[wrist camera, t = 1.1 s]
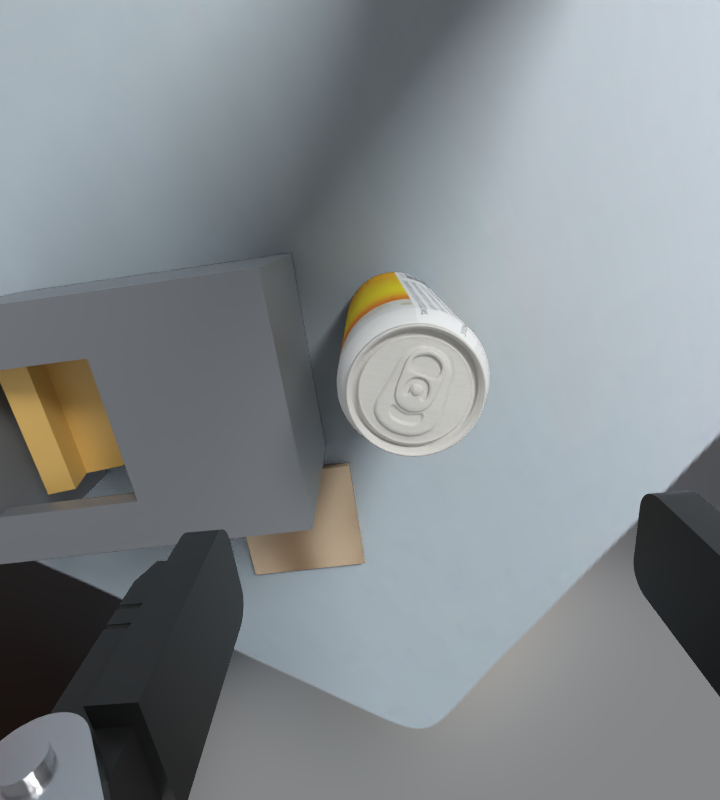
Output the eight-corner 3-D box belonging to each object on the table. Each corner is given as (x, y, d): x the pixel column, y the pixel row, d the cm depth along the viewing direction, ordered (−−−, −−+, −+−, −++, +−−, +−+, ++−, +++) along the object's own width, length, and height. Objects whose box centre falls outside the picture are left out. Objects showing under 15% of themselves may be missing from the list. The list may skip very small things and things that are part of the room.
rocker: (258, 301, 29) (258, 309, 26) (285, 431, 33) (288, 451, 30) (17, 341, 27) (-12, 354, 25) (71, 476, 31) (51, 501, 28)
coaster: (348, 462, 36) (348, 466, 35) (364, 559, 39) (364, 563, 38) (232, 476, 36) (230, 479, 36) (257, 570, 39) (256, 574, 39)
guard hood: (291, 253, 30) (258, 267, 21) (326, 447, 35) (312, 529, 26) (23, 291, 31) (-122, 321, 22) (94, 475, 36) (0, 564, 27)
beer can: (335, 344, 32) (314, 438, 18) (365, 257, 30) (367, 288, 16) (417, 372, 33) (457, 484, 19) (452, 289, 31) (525, 345, 17)
